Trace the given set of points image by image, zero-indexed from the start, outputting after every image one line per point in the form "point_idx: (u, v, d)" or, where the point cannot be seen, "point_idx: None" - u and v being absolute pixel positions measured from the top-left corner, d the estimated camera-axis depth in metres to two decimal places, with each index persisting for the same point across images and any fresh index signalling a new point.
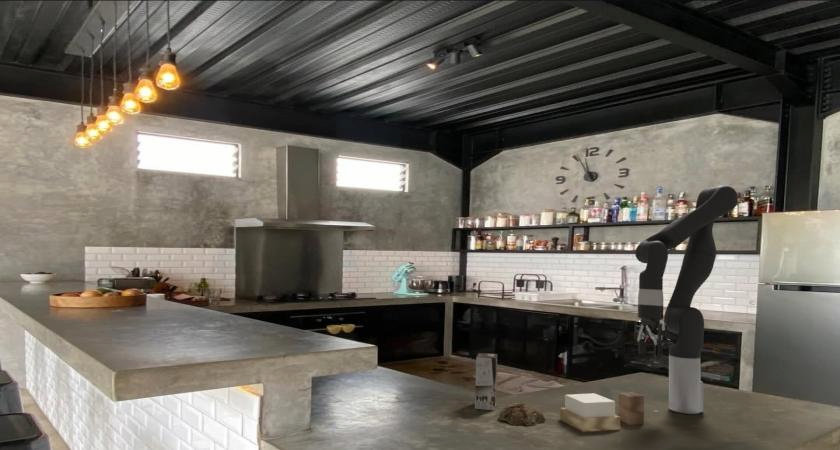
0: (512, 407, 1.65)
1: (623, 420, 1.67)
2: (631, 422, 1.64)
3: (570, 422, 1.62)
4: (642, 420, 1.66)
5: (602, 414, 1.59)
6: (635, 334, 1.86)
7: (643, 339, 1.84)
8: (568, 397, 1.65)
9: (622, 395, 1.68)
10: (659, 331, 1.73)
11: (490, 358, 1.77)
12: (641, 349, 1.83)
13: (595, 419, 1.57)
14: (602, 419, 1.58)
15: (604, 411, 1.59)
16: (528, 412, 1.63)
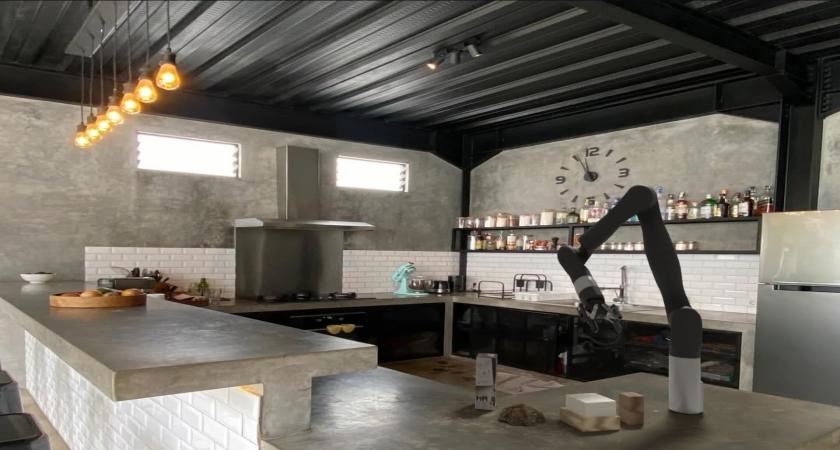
0: (512, 407, 1.65)
1: (623, 420, 1.67)
2: (631, 422, 1.64)
3: (570, 422, 1.62)
4: (642, 420, 1.66)
5: (603, 414, 1.59)
6: None
7: (614, 319, 1.84)
8: (569, 396, 1.65)
9: (622, 395, 1.68)
10: None
11: (490, 358, 1.77)
12: (616, 328, 1.82)
13: (595, 419, 1.57)
14: (602, 419, 1.58)
15: (605, 411, 1.59)
16: (528, 412, 1.63)
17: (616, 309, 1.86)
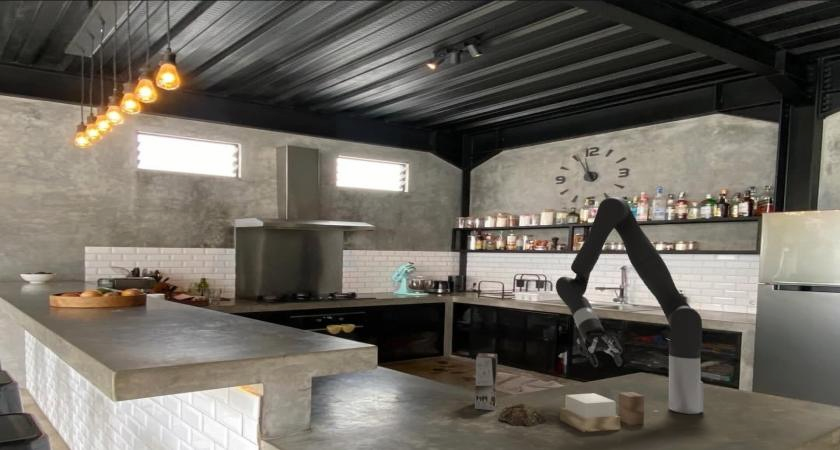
0: (512, 407, 1.65)
1: (623, 420, 1.67)
2: (631, 422, 1.64)
3: (570, 422, 1.62)
4: (642, 420, 1.66)
5: (602, 414, 1.59)
6: None
7: (614, 352, 1.83)
8: (569, 397, 1.65)
9: (622, 395, 1.68)
10: None
11: (490, 358, 1.77)
12: (616, 362, 1.81)
13: (595, 419, 1.57)
14: (602, 419, 1.58)
15: (604, 411, 1.59)
16: (528, 412, 1.63)
17: (616, 341, 1.86)
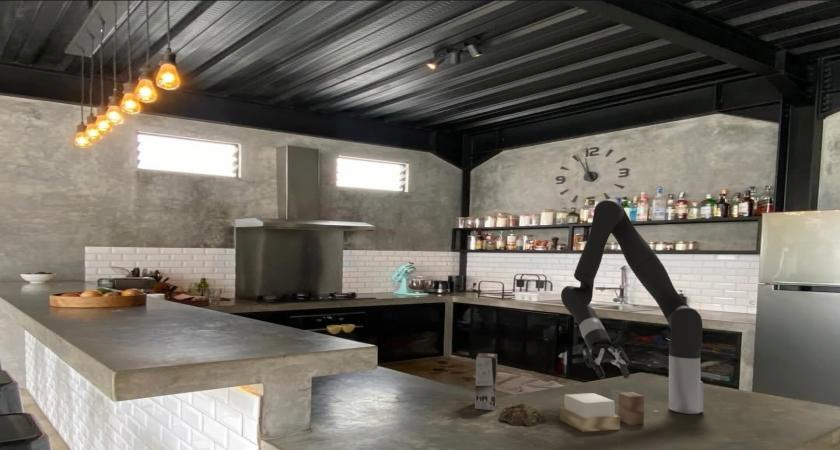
0: (513, 407, 1.65)
1: (623, 420, 1.67)
2: (631, 422, 1.64)
3: (569, 422, 1.62)
4: (642, 420, 1.66)
5: (601, 414, 1.59)
6: None
7: (621, 363, 1.80)
8: (568, 396, 1.65)
9: (622, 395, 1.68)
10: None
11: (490, 358, 1.77)
12: (623, 373, 1.78)
13: (595, 419, 1.57)
14: (602, 419, 1.58)
15: (603, 411, 1.59)
16: (529, 412, 1.63)
17: (623, 353, 1.82)
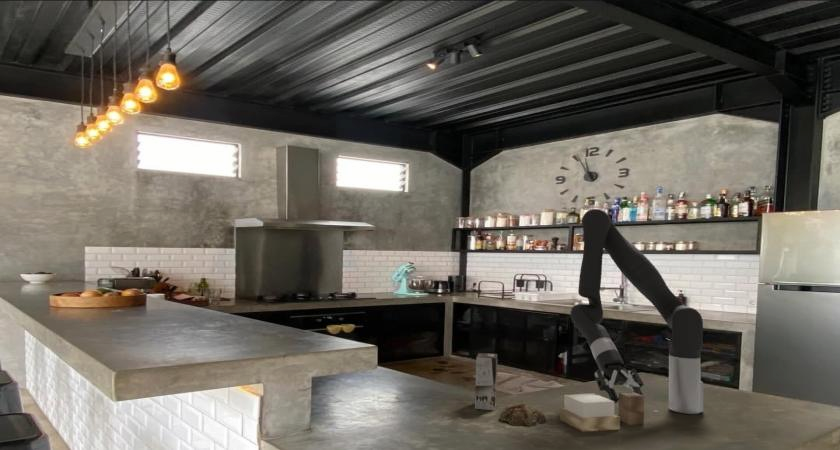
0: (513, 407, 1.65)
1: (623, 420, 1.67)
2: (631, 422, 1.64)
3: (569, 422, 1.62)
4: (642, 420, 1.66)
5: (601, 414, 1.59)
6: None
7: (634, 386, 1.73)
8: (568, 397, 1.65)
9: (622, 395, 1.68)
10: None
11: (490, 358, 1.77)
12: None
13: (595, 419, 1.57)
14: (602, 419, 1.58)
15: (603, 411, 1.59)
16: (529, 412, 1.63)
17: (636, 375, 1.75)
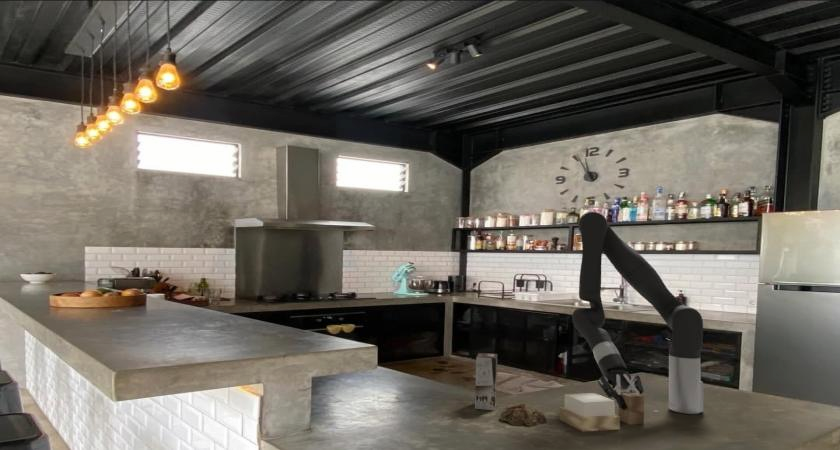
0: (513, 407, 1.65)
1: (623, 420, 1.67)
2: (631, 422, 1.64)
3: (569, 422, 1.62)
4: (642, 420, 1.66)
5: (601, 413, 1.60)
6: None
7: None
8: (568, 396, 1.66)
9: (622, 395, 1.68)
10: None
11: (490, 358, 1.77)
12: None
13: (595, 419, 1.57)
14: (602, 419, 1.58)
15: (603, 410, 1.60)
16: (529, 412, 1.63)
17: (639, 381, 1.73)
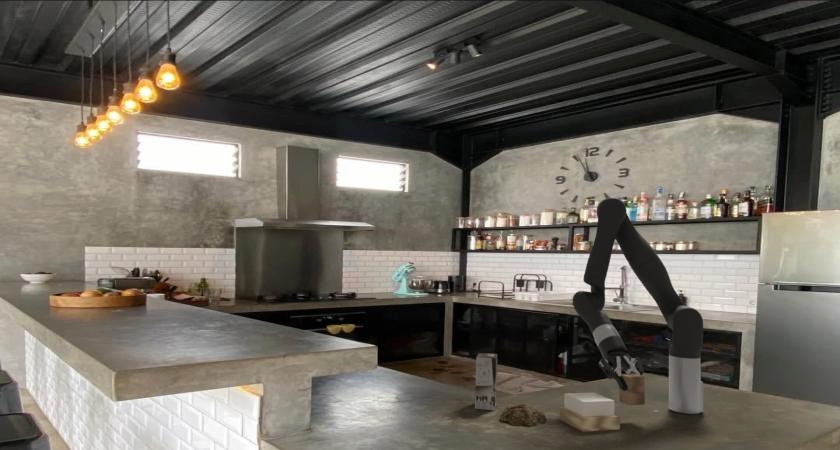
0: (513, 407, 1.65)
1: (624, 401, 1.67)
2: (632, 403, 1.65)
3: (569, 422, 1.62)
4: (643, 401, 1.66)
5: (601, 413, 1.60)
6: None
7: None
8: (568, 395, 1.66)
9: (623, 376, 1.68)
10: None
11: (490, 358, 1.77)
12: None
13: (595, 418, 1.57)
14: (602, 419, 1.58)
15: (603, 410, 1.60)
16: (529, 412, 1.63)
17: (639, 363, 1.74)
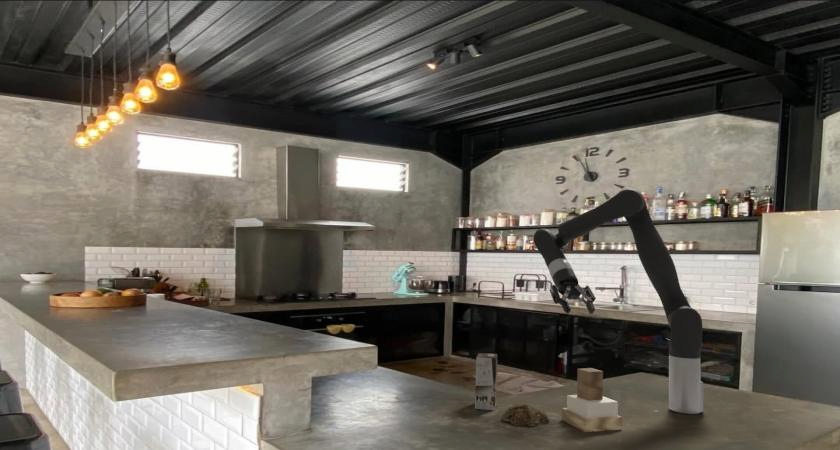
0: (516, 408, 1.64)
1: (582, 396, 1.63)
2: (590, 398, 1.61)
3: (572, 423, 1.62)
4: (601, 396, 1.63)
5: (605, 414, 1.59)
6: None
7: (587, 300, 1.85)
8: (571, 397, 1.65)
9: (581, 371, 1.64)
10: None
11: (490, 358, 1.77)
12: (589, 309, 1.83)
13: (597, 419, 1.57)
14: (604, 419, 1.58)
15: (607, 411, 1.59)
16: (532, 413, 1.62)
17: (589, 291, 1.88)
